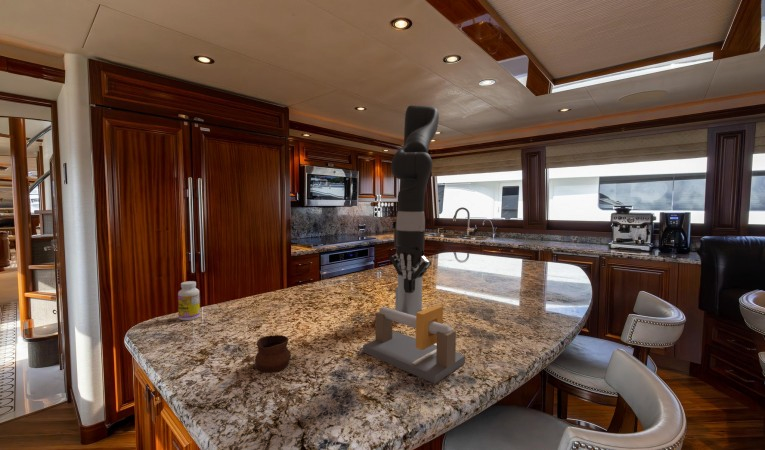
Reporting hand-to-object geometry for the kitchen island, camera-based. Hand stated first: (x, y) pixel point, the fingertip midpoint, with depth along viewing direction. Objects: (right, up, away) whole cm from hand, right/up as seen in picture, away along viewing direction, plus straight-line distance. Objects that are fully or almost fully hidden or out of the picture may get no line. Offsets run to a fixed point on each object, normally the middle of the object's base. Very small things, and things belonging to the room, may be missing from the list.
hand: (409, 292), depth 90 cm
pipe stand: (+1, -18, 0) cm, 18 cm away
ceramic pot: (-35, -18, -4) cm, 40 cm away
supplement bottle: (-77, -15, +30) cm, 84 cm away
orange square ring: (+5, -12, -4) cm, 14 cm away
